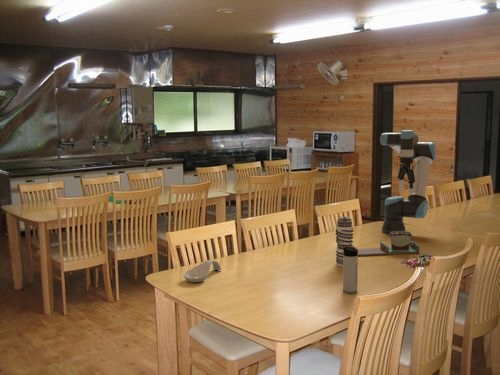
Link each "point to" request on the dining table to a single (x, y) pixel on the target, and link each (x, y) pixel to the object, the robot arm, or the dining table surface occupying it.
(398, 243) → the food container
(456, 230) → the dining table surface
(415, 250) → the rack
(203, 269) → the spoon rest
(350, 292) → the travel mug
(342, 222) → the decorative candle
